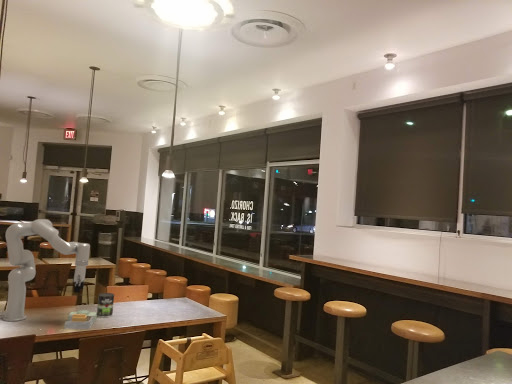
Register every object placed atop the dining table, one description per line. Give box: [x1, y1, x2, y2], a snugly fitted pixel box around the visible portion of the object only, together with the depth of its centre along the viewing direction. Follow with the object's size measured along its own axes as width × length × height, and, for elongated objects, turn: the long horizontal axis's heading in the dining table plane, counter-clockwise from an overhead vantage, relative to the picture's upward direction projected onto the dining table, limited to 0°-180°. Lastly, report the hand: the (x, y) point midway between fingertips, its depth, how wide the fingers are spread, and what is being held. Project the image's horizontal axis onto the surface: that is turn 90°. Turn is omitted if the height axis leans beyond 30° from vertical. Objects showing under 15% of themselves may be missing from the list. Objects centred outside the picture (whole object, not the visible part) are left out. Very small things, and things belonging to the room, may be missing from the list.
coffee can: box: [96, 292, 115, 318], centre depth 272 cm, size 10×10×14 cm
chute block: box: [72, 314, 87, 321], centre depth 247 cm, size 8×5×6 cm, turn 105°
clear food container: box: [66, 309, 98, 322], centre depth 258 cm, size 16×9×5 cm, turn 103°
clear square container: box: [64, 315, 94, 330], centre depth 247 cm, size 14×14×4 cm
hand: (78, 290), depth 249 cm, fingers open, 9 cm apart
